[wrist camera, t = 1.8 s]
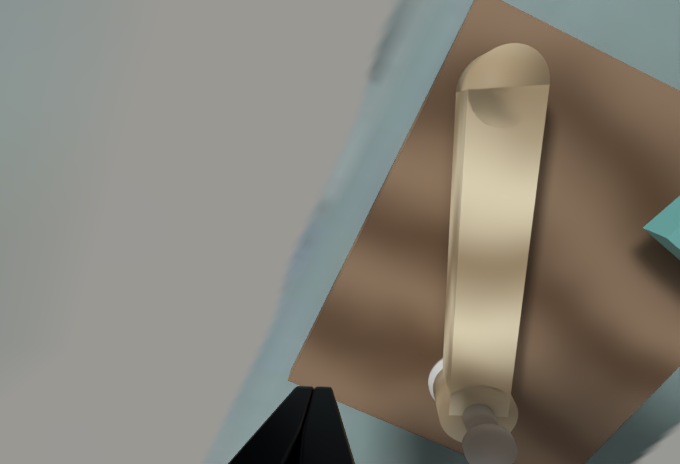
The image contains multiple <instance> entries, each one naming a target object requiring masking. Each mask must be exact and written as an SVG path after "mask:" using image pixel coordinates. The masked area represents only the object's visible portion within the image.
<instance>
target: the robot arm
mask: <svg viewBox="0 0 680 464" xmlns="http://www.w3.org/2000/svg"><path fill="white" fill-rule="evenodd" d="M228 464H355V462H354V459H353V455H352V452H351V449H350V445H349V442H348V439H347V435H346V432H345V429H344V426H343V422H342V419H341V416H340V412H339V409H338V406H337V402H336V399H335V396H334V392H333V389H332V388H331V387H322V386H317V387H315V388H313V387H312V386H297V387H296V388H294V390H293V391H292V392H291V393H290V394H289V395H288V396H287V398H286V399H285V400H284V401H283V402H282V403H281V404H280V405H279V407H278V408H277V409H276V410H275V411H274V412H273V413H272V415H271V416H270V417H269V418H268V419H267V420H266V421H265V422H264V424H263V425H262V426H261V427H260V428H259V429H258V430H257V432H256V433H255V434H254V435H253V436H252V437H251V438H250V439H249V441H248V442H247V443H246V444H245V445H244V446H243V447H242V448H241V450H240V451H239V452H238V453H237V454H236V455H235V456H234V458H233V459H232V460H231V461H230V462H229V463H228Z"/></svg>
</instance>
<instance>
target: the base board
mask: <svg viewBox="0 0 680 464" xmlns="http://www.w3.org/2000/svg"><path fill="white" fill-rule="evenodd" d="M510 43H520V44H525V45H528V46H530V47H533V48H534V49H536V50H537V51H538V52H539V53H540V54H541V55H542V56H543V58H544V59H545V61H546V63H547V65H548V68H549V73H550V86H549V94H548V102H547V110H546V118H545V126H544V134H543V142H542V150H541V158H540V166H539V174H538V182H537V189H536V197H535V205H534V213H533V221H532V229H531V237H530V245H529V253H528V261H527V269H526V277H525V285H524V293H523V301H522V309H521V317H520V325H519V333H518V341H517V349H516V357H515V365H514V373H513V380H512V388H511V395H512V397H513V399H514V401H515V403H516V405H517V409H518V419H517V423H516V425H515V427H514V428H513V430H512V431H511V432H510V433H511V434H512V436H513V438H514V441H515V443H516V445H517V448H518V455H517V458H516V460H515V461H514V462H513V463H512V464H584V463H585V462H586V461H587V460H588V459H589V458H590V457H591V456H592V455H593V454H594V453H595V452H596V451H597V450H598V449H599V448H600V447H601V446H602V445H603V444H604V443H605V442H606V441H607V440H608V439H609V438H610V437H611V436H612V435H613V434H614V433H615V432H616V431H617V430H618V429H619V428H620V427H621V426H622V424H623V423H624V422H625V421H626V420H627V419H628V418H629V417H630V416H631V415H632V414H633V413H634V412H635V411H636V410H637V409H638V408H639V407H640V406H641V405H642V404H643V403H644V402H645V401H646V400H647V399H648V398H649V397H650V396H651V395H652V394H653V393H654V392H655V391H656V390H657V389H658V388H659V387H660V386H661V385H662V384H663V383H664V382H665V381H666V380H667V379H668V378H669V377H670V376H671V375H672V373H673V372H674V371H675V370H676V369H677V368H678V367H679V366H680V260H679V259H678V258H677V257H676V256H674V255H673V254H672V253H671V252H670V251H669V250H667V249H666V248H665V247H664V246H663V245H662V244H661V243H659V242H658V241H657V240H656V239H655V238H654V237H652V236H651V235H650V234H649V233H648V232H647V231H646V230H644V229H643V227H644V226H645V225H646V224H648V223H649V222H650V221H651V220H652V219H653V218H655V217H656V216H657V215H658V214H659V213H660V212H661V211H663V210H664V209H665V208H666V207H667V206H668V205H670V204H671V203H672V202H673V201H674V200H675V199H676V198H678V197H679V196H680V91H679V90H677V89H675V88H673V87H671V86H669V85H667V84H665V83H663V82H661V81H659V80H657V79H655V78H653V77H651V76H649V75H647V74H645V73H643V72H641V71H639V70H637V69H635V68H633V67H631V66H629V65H628V64H626V63H624V62H622V61H620V60H618V59H616V58H614V57H612V56H610V55H608V54H606V53H604V52H602V51H600V50H598V49H596V48H594V47H592V46H590V45H588V44H586V43H584V42H582V41H580V40H578V39H576V38H574V37H572V36H570V35H568V34H566V33H564V32H562V31H561V30H559V29H557V28H555V27H553V26H551V25H549V24H547V23H545V22H543V21H541V20H539V19H537V18H535V17H533V16H531V15H529V14H527V13H525V12H523V11H521V10H519V9H517V8H515V7H513V6H511V5H509V4H507V3H505V2H503V1H501V0H474V2H473V4H472V6H471V8H470V10H469V12H468V14H467V16H466V18H465V20H464V22H463V24H462V26H461V28H460V30H459V32H458V34H457V36H456V38H455V40H454V42H453V44H452V46H451V48H450V50H449V52H448V54H447V56H446V58H445V60H444V62H443V64H442V66H441V68H440V70H439V72H438V74H437V76H436V78H435V81H434V83H433V85H432V87H431V89H430V91H429V93H428V95H427V97H426V99H425V101H424V103H423V105H422V107H421V109H420V111H419V113H418V115H417V117H416V119H415V121H414V123H413V125H412V127H411V129H410V131H409V133H408V135H407V137H406V139H405V141H404V143H403V145H402V147H401V149H400V151H399V153H398V155H397V157H396V159H395V161H394V163H393V165H392V167H391V169H390V171H389V173H388V175H387V177H386V179H385V181H384V183H383V185H382V187H381V189H380V191H379V193H378V195H377V197H376V199H375V201H374V204H373V206H372V208H371V210H370V212H369V214H368V216H367V218H366V220H365V222H364V224H363V226H362V228H361V230H360V232H359V234H358V236H357V238H356V240H355V242H354V244H353V246H352V248H351V250H350V252H349V254H348V256H347V258H346V260H345V262H344V264H343V266H342V268H341V270H340V272H339V274H338V276H337V278H336V280H335V282H334V284H333V286H332V288H331V290H330V292H329V294H328V296H327V298H326V300H325V302H324V304H323V306H322V308H321V310H320V312H319V314H318V316H317V318H316V320H315V322H314V324H313V326H312V329H311V331H310V333H309V335H308V337H307V339H306V341H305V343H304V345H303V347H302V349H301V351H300V353H299V355H298V357H297V359H296V361H295V363H294V365H293V367H292V369H291V372H290V375H289V378H288V381H291V382H293V383H295V384H298V385H300V386H312V387H313V388H315V387H317V386H322V387H331V388H332V389H333V392H334V396H335V399H336V401H338V402H340V403H343V404H345V405H348V406H350V407H352V408H355V409H357V410H359V411H362V412H364V413H367V414H369V415H371V416H374V417H376V418H378V419H381V420H383V421H386V422H388V423H390V424H393V425H395V426H397V427H400V428H402V429H405V430H407V431H409V432H412V433H414V434H416V435H419V436H421V437H424V438H426V439H428V440H431V441H433V442H435V443H438V444H440V445H443V446H445V447H447V448H450V449H452V450H454V451H457V452H459V453H462V454H464V451H463V447H462V443H461V442H459V441H457V440H455V439H453V438H451V437H450V436H449V435H448V434H447V433H446V432H445V431H444V430H443V428H442V426H441V424H440V420H439V416H438V411H437V407H436V402H435V400H434V399H433V398H432V396H431V394H430V391H429V386H428V378H429V374H430V371H431V369H432V368H433V366H434V365H435V364H436V363H437V362H438V361H439V360H440V359H441V358H443V349H444V328H445V308H446V287H447V266H448V246H449V225H450V205H451V184H452V164H453V143H454V123H455V102H456V88H457V83H458V80H459V78H460V76H461V74H462V72H463V71H464V69H465V68H466V67H467V66H468V65H469V64H470V63H471V62H472V61H473V60H475V59H476V58H478V57H479V56H481V55H483V54H485V53H487V52H489V51H491V50H492V49H494V48H496V47H499V46H501V45H505V44H510ZM464 455H465V454H464Z"/></svg>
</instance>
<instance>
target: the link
mask: <svg viewBox="0 0 680 464" xmlns="http://www.w3.org/2000/svg"><path fill="white" fill-rule="evenodd" d="M549 86H550V73H549V68H548V65H547V63H546V61H545V59H544V58H543V56H542V55H541V54H540V53H539V52H538V51H537V50H536V49H534V48H533V47H530V46H528V45H525V44H520V43H510V44H505V45H501V46H499V47H496V48H494V49H492V50H491V51H489V52H487V53H485V54H483V55H481V56H479V57H478V58H476V59H475V60H473V61H472V62H471V63H470V64H469V65H468V66H467V67H466V68H465V69H464V71H463V72H462V74H461V76H460V78H459V80H458V83H457V88H456V102H455V123H454V143H453V164H452V184H451V205H450V225H449V246H448V266H447V287H446V308H445V328H444V349H443V369H442V370H441V371H440V372H439V373H438V374H437V376H436V378H435V380H434V383H433V393H434V398H435V402H436V407H437V411H438V416H439V420H440V424H441V426H442V428H443V430H444V431H445V432H446V433H447V434H448V435H449V436H450V437H451V438H453V439H455V440H457V441H459V442H461V443H462V447H463V451H464V454H465V458H466V460H467V461H468V463H469V464H512V463H513V462H514V461H515V460H516V458H517V455H518V448H517V445H516V443H515V441H514V438H513V436H512V434H511V433H510V432H511V431H512V430H513V428H514V427H515V425H516V423H517V419H518V409H517V405H516V403H515V401H514V399H513V397H512V395H511V388H512V380H513V373H514V365H515V357H516V349H517V341H518V333H519V325H520V317H521V309H522V301H523V293H524V285H525V277H526V269H527V261H528V253H529V245H530V237H531V229H532V221H533V213H534V205H535V197H536V189H537V182H538V174H539V166H540V158H541V150H542V142H543V134H544V126H545V118H546V110H547V102H548V94H549Z"/></svg>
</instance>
